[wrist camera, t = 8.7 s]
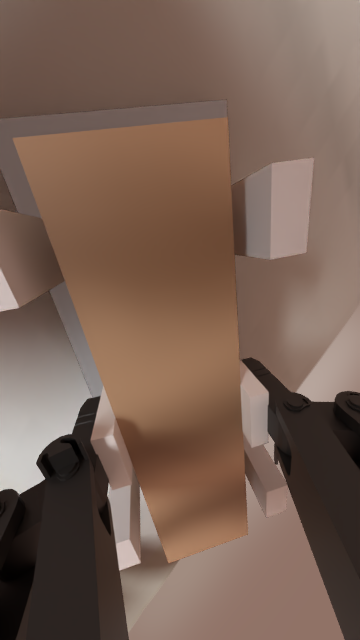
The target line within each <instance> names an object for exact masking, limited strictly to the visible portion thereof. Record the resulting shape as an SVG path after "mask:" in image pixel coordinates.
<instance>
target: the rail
mask: <svg viewBox="0 0 360 640" xmlns="http://www.w3.org/2000/svg"><path fill="white" fill-rule="evenodd" d="M13 141H14V144H15V147H16V149H17V152H18V155H19V158H20V160H21V163H22V166H23V168H24V171H25V174H26V177H27V179H28V182H29V185H30V187H31V190H32V193H33V196H34V198H35V201H36V204H37V206H38V209H39V212H40V215H41V217H42V220H43V223H44V226H45V228H46V231H47V234H48V236H49V239H50V242H51V245H52V247H53V250H54V253H55V255H56V258H57V261H58V264H59V266H60V269H61V272H62V274H63V277H64V280H65V283H66V285H67V288H68V291H69V294H70V296H71V299H72V302H73V304H74V307H75V310H76V313H77V315H78V318H79V321H80V323H81V326H82V329H83V332H84V334H85V337H86V340H87V342H88V345H89V348H90V351H91V353H92V356H93V359H94V361H95V364H96V367H97V370H98V372H99V375H100V378H101V381H102V383H103V386H104V389H105V391H106V394H107V397H108V400H109V402H110V405H111V408H112V410H113V413H114V416H115V418H116V421H117V424H118V426H119V429H120V432H121V435H122V437H123V440H124V443H125V445H126V448H127V451H128V454H129V456H130V459H131V462H132V465H133V468H134V470H135V473H136V476H137V478H138V481H139V484H140V487H141V489H142V492H143V495H144V497H145V500H146V503H147V506H148V508H149V511H150V514H151V517H152V519H153V522H154V525H155V527H156V530H157V533H158V536H159V538H160V541H161V544H162V546H163V549H164V552H165V555H166V557H167V560H168V563H171V562H174V561H176V560H179V559H182V558H185V557H187V556H190V555H193V554H196V553H198V552H201V551H204V550H206V549H209V548H212V547H215V546H218V545H220V544H223V543H226V542H229V541H231V540H234V539H237V538H240V537H242V536H245V535H248V524H247V503H246V484H245V483H246V482H245V462H244V441H243V429H242V409H241V388H240V384H241V379H240V359H239V338H238V317H237V297H236V276H235V255H234V235H233V214H232V193H231V173H230V152H229V132H228V117H224V118H214V119H204V120H193V121H183V122H173V123H162V124H152V125H142V126H131V127H121V128H111V129H100V130H90V131H80V132H70V133H59V134H49V135H39V136H28V137H18V138H13Z"/></svg>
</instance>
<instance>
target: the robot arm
mask: <svg viewBox="0 0 360 640" xmlns="http://www.w3.org/2000/svg"><path fill="white" fill-rule="evenodd" d="M240 379H241V384H240V388H241V409H242V429H243V433H244V435H245V437H246V439H247V440H248V442H249V444H250V446H251V448H253V447H256V446H259V445H263V444H266V443H268V433H269V434H270V436H271V437H272V439H273V440H274V442H275V444H274V461H275V464H278V461H279V463H280V466H281V469H282V471H283V474H284V477H285V479H286V482H287V485H288V488H289V490H290V493H291V495H292V498H293V501H294V504H295V506H296V509H297V512H298V514H299V517H300V520H301V523H302V525H303V528H304V531H305V533H306V536H307V539H308V541H309V544H310V547H311V550H312V552H313V555H314V558H315V560H316V563H317V566H318V568H319V571H320V574H321V577H322V579H323V582H324V585H325V587H326V590H327V593H328V595H329V598H330V601H331V604H332V606H333V609H334V612H335V614H336V617H337V620H338V622H339V625H340V628H341V630H342V633H343V636H344V639H345V640H360V393H357V392H351V391H345V392H341V393H339V394H337V395H336V398H335V402H311V401H310V400H309V399H308V398H306V397H305V396H303V395H301V394H298V393H294V392H290V391H289V390H288V389H287V388H286V387H285V386H284V385H283V384H282V383H281V382H280V381H279V380H278V379H277V378H276V377H275V376H274V375H273V374H271V373H270V371H269V370H267V369H266V368H265V367H264V366H263V365H262V364H261V363H260V362H259V361H257V360H255V359H253V358H247V359H243V360H240ZM36 464H37V466H38V467H39V469H40V471H41V472H42V474H43V476H44V477H45V480H44V481H42V482H41V483H39V484H37V485H35V486H34V487H32V488H30V489H28V490H27V491H25V492H23V493H21V494H20V495H19V494H18V493H17V491H15V490H13V489H6V490H2V491H0V640H129V637H128V630H127V623H126V615H125V608H124V601H123V593H122V586H121V579H120V571H119V564H118V556H117V549H116V542H115V534H114V527H113V520H112V512H111V505H110V502H109V499H108V497H107V492H108V483H109V484H110V486H111V488H112V490H115V489H119V488H122V487H125V486H128V485H132V462H131V459H130V456H129V454H128V451H127V448H126V445H125V443H124V440H123V437H122V435H121V432H120V429H119V426H118V424H117V421H116V418H115V416H114V413H113V410H112V408H111V405H110V402H109V400H108V397H107V394H106V391H105V389H104V386H103V389H102V393H101V396H98V397H94V398H90V399H87V400H86V402H85V403H84V404H83V406H82V407H81V409H80V412H79V414H78V418H77V420H76V423H75V426H74V429H73V432H72V434H68V435H65V436H62V437H59V438H58V439H56V440H54V441H53V442H51V443H50V444H49V445H48V446H47V447H46V448H45V449H44V450H43V451H42V453H41V454H40V455H39V457H38V460H37V462H36Z"/></svg>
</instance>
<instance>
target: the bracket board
mask: <svg viewBox="0 0 360 640" xmlns="http://www.w3.org/2000/svg"><path fill="white" fill-rule="evenodd" d="M224 117H228V116H227V99H226V100H214V101H203V102H191V103H179V104H167V105H156V106H144V107H132V108H120V109H108V110H97V111H85V112H73V113H61V114H49V115H38V116H26V117H14V118H2V119H0V170H1V172H2V175H3V177H4V180H5V182H6V185H7V187H8V189H9V192H10V194H11V197H12V199H13V202H14V204H15V207H16V209H17V212H18V213H16V212H12V211H7V210H3V209H0V311H6V310H11V309H16V308H20V307H22V306H23V305H25V304H27V303H28V302H30V301H32V300H34V299H35V298H37V297H39V296H40V295H42V294H44V293H46V292H47V291H50V294H51V296H52V299H53V301H54V303H55V306H56V308H57V311H58V313H59V316H60V318H61V321H62V323H63V326H64V328H65V331H66V333H67V336H68V338H69V341H70V343H71V346H72V348H73V351H74V353H75V356H76V358H77V361H78V363H79V365H80V368H81V370H82V373H83V375H84V378H85V380H86V383H87V385H88V388H89V390H90V393H91V395H92V398H94V397H98V396H101V393H102V389H103V383H102V381H101V378H100V375H99V372H98V370H97V367H96V364H95V361H94V359H93V356H92V353H91V351H90V348H89V345H88V342H87V340H86V337H85V334H84V332H83V329H82V326H81V323H80V321H79V318H78V315H77V313H76V310H75V307H74V304H73V302H72V299H71V296H70V294H69V291H68V288H67V285H66V283H65V280H64V277H63V274H62V272H61V269H60V266H59V264H58V261H57V258H56V255H55V253H54V250H53V247H52V245H51V242H50V239H49V236H48V234H47V231H46V228H45V226H44V223H43V220H42V217H41V215H40V212H39V209H38V206H37V204H36V201H35V198H34V196H33V193H32V190H31V187H30V185H29V182H28V179H27V177H26V174H25V171H24V168H23V166H22V163H21V160H20V158H19V155H18V152H17V149H16V147H15V144H14V141H13V138H18V137H28V136H39V135H49V134H59V133H70V132H80V131H90V130H100V129H111V128H121V127H131V126H142V125H152V124H162V123H173V122H183V121H193V120H204V119H214V118H224ZM313 165H314V157H313V158H306V159H298V160H290V161H282V162H274V163H271V164H269V165H267V166H265V167H264V168H262V169H260V170H258V171H257V172H255V173H253V174H251V175H249V176H248V177H246V178H244V179H242V180H241V181H239V182H237V183H235V184H233V185H232V186H231V193H232V214H233V235H234V254H235V255H242V256H248V257H255V258H262V259H268V260H272V259H277V258H282V257H288V256H293V255H298V254H303V253H307V240H308V228H309V215H310V203H311V190H312V178H313ZM243 441H244V462H245V474H246V476H247V478H248V480H249V482H250V485H251V486H252V489H253V491H254V493H255V495H256V497H257V499H258V502H259V504H260V506H261V508H262V510H263V512H264V514H265V517H266V518H268V517H270V516H273V515H276V514H279V513H282V512H284V511H286V502H287V489H288V485H287V483H286V481H285V479H284V478H283V476H282V475H281V473H280V471H279V470H278V468H277V467H276V465H275V463H274V462H273V460H272V459H271V457H270V455H269V454H268V452H267V451H266V449H265V447H264V446H263V445H259V446H256V447H253V448H251V446H250V444H249V442H248V440H247V439H246V437H245V435H244V433H243ZM109 502H110V505H111V512H112V520H113V527H114V534H115V542H116V549H117V556H118V564H119V571H120V570H123V569H125V568H128V567H131V566H134V565H136V564H139V563H141V546H140V484H139V481H138V478H137V476H136V473H135V470H134V468H133V465H132V485H128V486H125V487H122V488H119V489H115V490H112V488H111V486H110V490H109Z"/></svg>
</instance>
